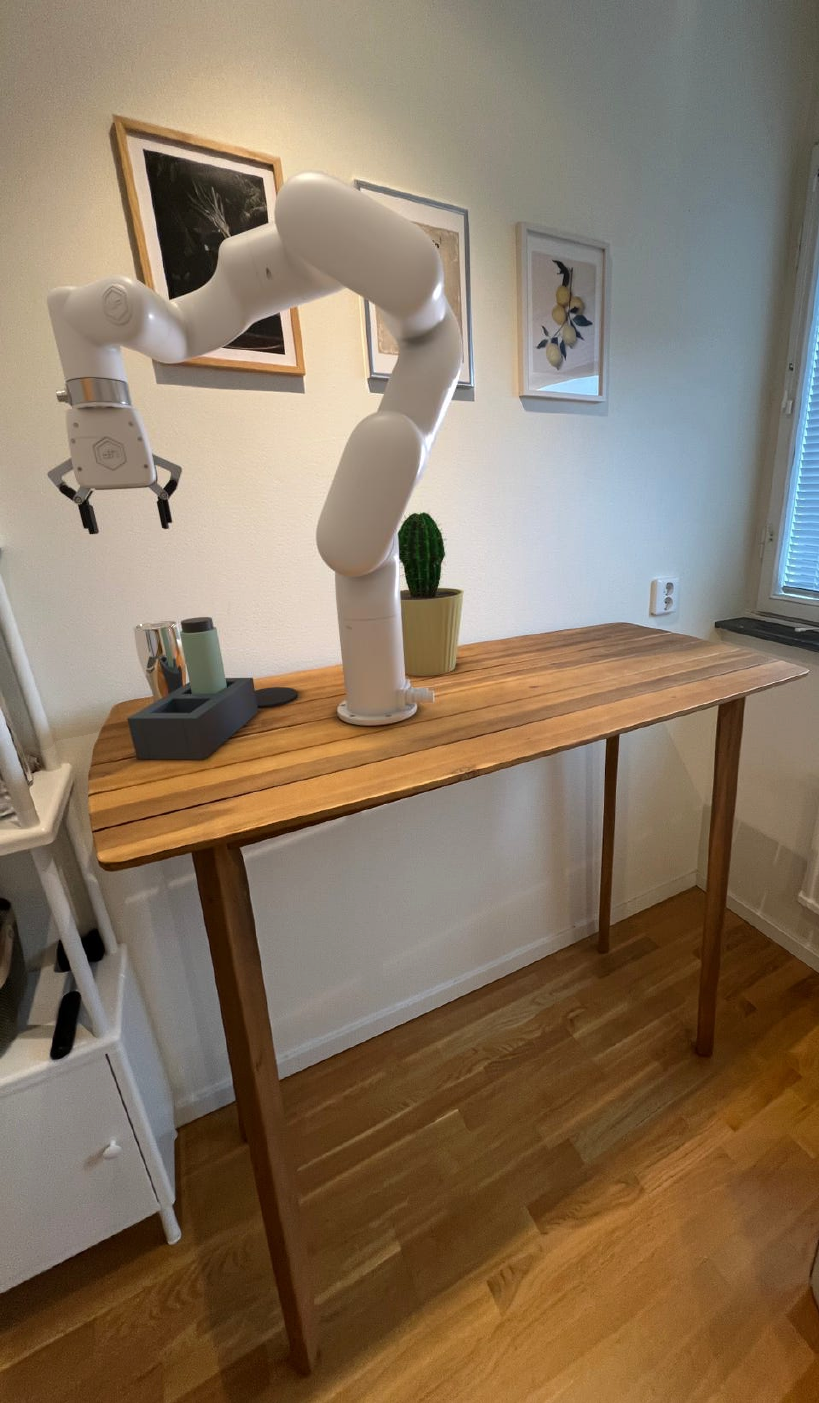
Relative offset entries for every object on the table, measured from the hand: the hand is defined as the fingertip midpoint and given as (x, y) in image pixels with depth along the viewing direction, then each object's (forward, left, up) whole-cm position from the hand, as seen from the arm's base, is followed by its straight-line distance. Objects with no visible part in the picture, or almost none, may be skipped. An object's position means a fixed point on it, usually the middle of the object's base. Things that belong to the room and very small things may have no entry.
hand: (130, 531), depth 80 cm
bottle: (-9, +2, -29) cm, 31 cm away
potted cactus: (-39, -28, -30) cm, 56 cm away
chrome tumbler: (+1, -3, -30) cm, 30 cm away
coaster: (-13, -10, -29) cm, 34 cm away
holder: (-9, +6, -29) cm, 31 cm away
